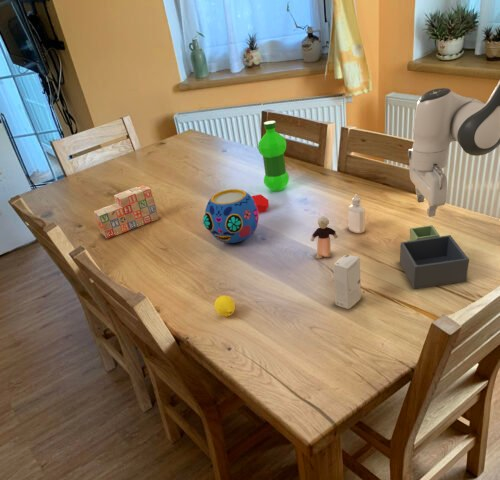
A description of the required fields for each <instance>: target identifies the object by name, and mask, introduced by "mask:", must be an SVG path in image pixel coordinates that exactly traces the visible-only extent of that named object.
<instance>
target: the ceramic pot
mask: <svg viewBox="0 0 500 480" xmlns="http://www.w3.org/2000/svg"><path fill="white" fill-rule="evenodd" d="M251 196H252V195H250V194H249V193H248V192H247V191H246V190H245V191H244V190H243V189H239V188H238V189H237V188H233V189H231V188H230V189H225V190H221V191H218V192H216V193H215V194H213V195H212V196H211V197H210V198H209V200H208V201H207V204H206V206H205V211H204V215H203V218H202V223H203V226H204V227H205V229H206V230H208V231H209V232H210V234H211V235H212V236H213V237H214V238H215V240H217V241H220V242H222V243H228V244H236V243H240V242H243V241H245V240H247V239H248V238H250V237H251V236H253V234H254V233H255V232H256V230H257V227H258V225H259V219H260V213H259V212H258V208H257V206H256V204H255V201H254V199H253V198H252V197H251Z"/></svg>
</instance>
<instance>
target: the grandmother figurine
mask: <svg viewBox="0 0 500 480" xmlns="http://www.w3.org/2000/svg"><path fill="white" fill-rule="evenodd" d="M329 224H330V220H329V219H328V217H326V216H319V217H318V219H317V225H318V227H317V228H316V230H314V232H313V234H312V236H311V238H310V241H311V242H314V241H315V240H316V238H317V240H316V242H317V243H316V244H317V245H316V248H317V249H316V251H317V254H316V256H315V258H316V259H322V258H323V257H324V258H331V257H332V254H331V238H330V237H331V236H332V237H333V238H334V239H337V238H338V234H337V232H336V230H334V229H333V228H331V227H329V226H328V225H329ZM330 235H331V236H330Z"/></svg>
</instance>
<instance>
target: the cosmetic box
mask: <svg viewBox="0 0 500 480" xmlns="http://www.w3.org/2000/svg"><path fill="white" fill-rule="evenodd" d="M360 259H361V258H360V256H355V255H352V254H347V253H345V254H344V255H343V256H342V257H339V259H338V260H337V261H336V262H335V263H333V265H332V269H333V283H334V284H333V285H334V303H335V305H336V306H338V307H340V308H343V309H347V310H349V309H351V308H352V307H354V306H355V305H356V304H357V303H358V302H359V301H360V300H361V299H362V289H361V260H360Z"/></svg>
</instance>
